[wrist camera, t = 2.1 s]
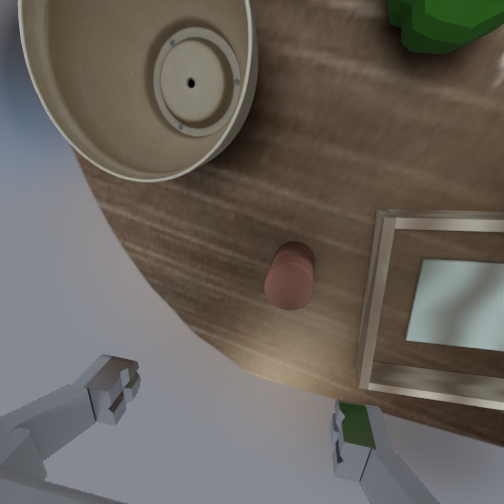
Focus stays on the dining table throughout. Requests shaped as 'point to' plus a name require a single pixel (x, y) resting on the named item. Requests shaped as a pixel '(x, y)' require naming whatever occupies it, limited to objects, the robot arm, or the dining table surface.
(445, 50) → the bell pepper
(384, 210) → the corral
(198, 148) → the planter bowl
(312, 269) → the reddish pink cylinder
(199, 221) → the dining table surface
